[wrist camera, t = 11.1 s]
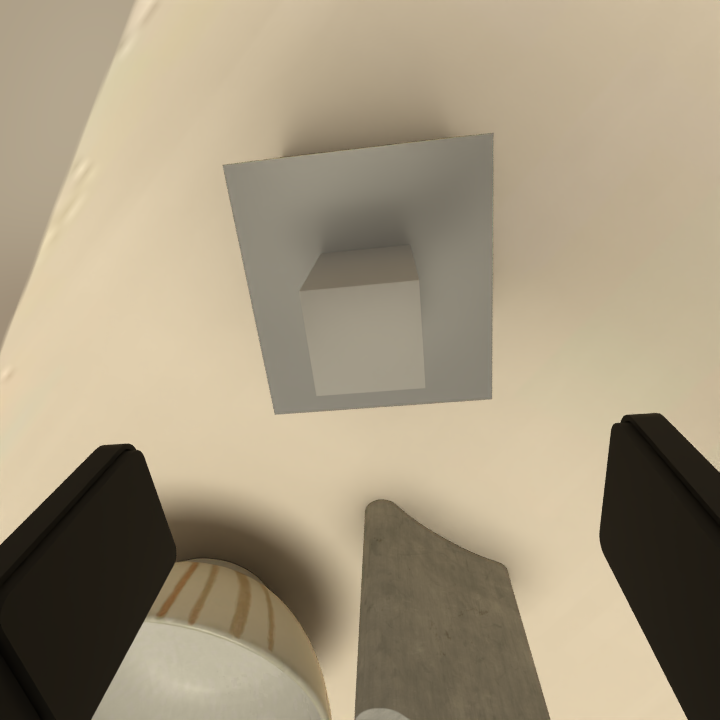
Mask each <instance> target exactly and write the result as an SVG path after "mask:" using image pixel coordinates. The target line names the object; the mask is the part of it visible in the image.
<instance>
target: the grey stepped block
mask: <svg viewBox="0 0 720 720" xmlns="http://www.w3.org/2000/svg"><path fill="white" fill-rule="evenodd" d="M223 169H224V174H225V179H226V183H227V188H228V193H229V198H230V203H231V207H232V212H233V217H234V222H235V226H236V231H237V236H238V241H239V246H240V250H241V255H242V260H243V265H244V269H245V274H246V279H247V284H248V288H249V293H250V298H251V303H252V308H253V312H254V317H255V322H256V327H257V331H258V336H259V341H260V346H261V351H262V355H263V360H264V365H265V370H266V374H267V379H268V384H269V389H270V394H271V398H272V403H273V408H274V413H275V415H276V414H290V413H304V412H318V411H332V410H346V409H360V408H374V407H388V406H402V405H416V404H431V403H445V402H459V401H473V400H487V399H492V285H493V133H488V134H478V135H468V136H459V137H449V138H441V139H432V140H424V141H416V142H407V143H399V144H390V145H382V146H373V147H365V148H357V149H348V150H340V151H331V152H323V153H314V154H306V155H298V156H289V157H281V158H273V159H265V160H258V161H250V162H242V163H235V164H227V165H223Z"/></svg>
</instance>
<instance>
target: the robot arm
mask: <svg viewBox="0 0 720 720" xmlns="http://www.w3.org/2000/svg"><path fill="white" fill-rule="evenodd" d="M599 537H600V544H601V548H602V551H603V554H604V556H605V558H606V560H607V562H608V564H609V566H610V568H611V569H612V571H613V573H614V575H615V577H616V579H617V581H618V583H619V585H620V587H621V589H622V591H623V593H624V595H625V597H626V599H627V601H628V603H629V605H630V607H631V609H632V611H633V613H634V615H635V617H636V619H637V621H638V623H639V625H640V627H641V628H642V630H643V632H644V634H645V636H646V638H647V640H648V642H649V644H650V646H651V648H652V650H653V652H654V654H655V656H656V658H657V660H658V662H659V664H660V666H661V668H662V670H663V672H664V674H665V676H666V678H667V680H668V682H669V684H670V686H671V687H672V689H673V691H674V693H675V695H676V697H677V699H678V701H679V703H680V705H681V707H682V709H683V711H684V713H685V715H686V717H687V719H688V720H720V473H719V472H718V471H717V470H716V469H715V468H714V467H713V466H712V464H711V463H710V462H709V461H708V460H707V459H706V458H705V457H704V456H703V455H702V454H701V453H700V452H699V451H698V450H697V449H696V448H695V447H694V446H693V445H692V444H691V443H690V442H689V441H688V440H687V439H686V438H685V437H684V436H683V435H682V434H681V433H680V432H679V431H678V430H677V429H676V428H675V427H674V426H673V425H672V424H671V423H670V422H669V421H668V420H667V419H666V418H665V417H664V416H662V415H661V414H659V413H650V414H633V415H625V416H623V418H622V420H621V423H615V424H613V426H612V429H611V436H610V445H609V453H608V462H607V471H606V480H605V488H604V497H603V506H602V515H601V524H600V533H599ZM175 560H176V546H175V543H174V540H173V538H172V535H171V532H170V529H169V526H168V523H167V520H166V518H165V515H164V512H163V509H162V506H161V503H160V500H159V498H158V495H157V492H156V489H155V486H154V483H153V480H152V478H151V475H150V472H149V469H148V466H147V463H146V461H145V458H144V455H143V453H142V452H141V451H139V450H136V449H135V447H134V446H133V445H131V444H115V445H103V446H100V447H98V448H97V449H96V450H95V451H94V452H93V453H92V454H91V455H90V456H89V457H88V458H87V459H86V460H85V461H84V462H83V463H82V464H81V465H80V466H79V467H78V468H77V469H76V470H75V471H74V472H73V473H72V474H71V475H70V476H69V477H68V478H67V479H66V480H65V481H64V482H63V483H62V484H61V485H60V486H59V487H58V488H57V489H56V490H55V491H54V492H53V493H52V494H51V495H50V496H49V497H48V498H47V499H46V500H45V501H44V502H43V503H42V504H41V505H40V506H39V507H38V508H37V509H36V510H35V511H34V512H33V513H32V514H31V515H30V516H29V517H28V518H27V519H26V520H25V521H24V522H23V523H22V524H21V525H20V526H19V527H18V528H17V529H16V530H15V531H14V532H13V533H12V534H11V535H10V536H9V537H8V538H7V539H6V540H5V541H4V542H3V543H2V544H1V545H0V720H91V719H92V717H93V716H94V714H95V712H96V710H97V708H98V706H99V704H100V703H101V701H102V699H103V697H104V695H105V693H106V691H107V689H108V688H109V686H110V684H111V682H112V680H113V678H114V676H115V674H116V673H117V671H118V669H119V667H120V665H121V663H122V661H123V660H124V658H125V656H126V654H127V652H128V650H129V648H130V646H131V645H132V643H133V641H134V639H135V637H136V635H137V633H138V632H139V630H140V628H141V626H142V624H143V622H144V620H145V618H146V617H147V615H148V613H149V611H150V609H151V607H152V605H153V603H154V602H155V600H156V598H157V596H158V594H159V592H160V590H161V589H162V587H163V585H164V583H165V581H166V579H167V577H168V575H169V574H170V572H171V570H172V568H173V566H174V564H175Z"/></svg>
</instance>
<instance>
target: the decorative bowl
mask: <svg viewBox="0 0 720 720" xmlns="http://www.w3.org/2000/svg"><path fill="white" fill-rule="evenodd" d="M91 720H332V718H331V710H330V705H329V700H328V695H327V690H326V686H325V682H324V678H323V674H322V671H321V668H320V665H319V662H318V660H317V657H316V654H315V652H314V650H313V647H312V645H311V643H310V641H309V639H308V637H307V635H306V633H305V632H304V630H303V628H302V627H301V625H300V623H299V622H298V620H297V619H296V618H295V616H294V615H293V613H292V612H291V611H290V610H289V608H288V607H287V606H286V605H285V604H284V603H283V602H282V601H281V600H280V599H279V598H278V597H277V596H276V595H275V594H274V593H273V592H271V591H270V590H269V589H268V588H267V587H266V586H265V585H264V583H263V582H262V581H261V580H260V579H259V578H258V577H257V576H255V575H254V574H253V573H251V572H250V571H248V570H246V569H244V568H242V567H240V566H238V565H236V564H233V563H230V562H227V561H223V560H218V559H209V558H199V559H191V560H186V561H183V562H175V564H174V566H173V568H172V570H171V572H170V574H169V575H168V577H167V579H166V581H165V583H164V585H163V587H162V589H161V590H160V592H159V594H158V596H157V598H156V600H155V602H154V603H153V605H152V607H151V609H150V611H149V613H148V615H147V617H146V618H145V620H144V622H143V624H142V626H141V628H140V630H139V632H138V633H137V635H136V637H135V639H134V641H133V643H132V645H131V646H130V648H129V650H128V652H127V654H126V656H125V658H124V660H123V661H122V663H121V665H120V667H119V669H118V671H117V673H116V674H115V676H114V678H113V680H112V682H111V684H110V686H109V688H108V689H107V691H106V693H105V695H104V697H103V699H102V701H101V703H100V704H99V706H98V708H97V710H96V712H95V714H94V716H93V717H92V719H91Z"/></svg>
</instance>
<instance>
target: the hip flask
mask: <svg viewBox="0 0 720 720" xmlns="http://www.w3.org/2000/svg"><path fill="white" fill-rule="evenodd" d="M355 720H550V717H549V713H548V710H547V706H546V703H545V699H544V696H543V692H542V689H541V685H540V682H539V679H538V675H537V672H536V668H535V665H534V661H533V658H532V654H531V651H530V647H529V644H528V640H527V637H526V634H525V630H524V627H523V623H522V620H521V616H520V613H519V609H518V606H517V602H516V599H515V595H514V592H513V589H512V585H511V582H510V578H509V575H508V571H507V569H506V567H505V566H504V565H502V564H501V563H498V562H495V561H492V560H489V559H487V558H484V557H481V556H479V555H477V554H474V553H472V552H470V551H468V550H465V549H463V548H461V547H459V546H457V545H455V544H453V543H451V542H450V541H448V540H446V539H444V538H442V537H441V536H439V535H437V534H435V533H434V532H432V531H431V530H429V529H427V528H426V527H424V526H423V525H421V524H420V523H418V522H417V521H416V520H414V519H413V518H411V517H410V516H409V515H407V514H406V513H405V512H404V511H402V510H401V509H400V508H399V507H398V506H397V505H395V504H394V503H393V502H391V501H388V500H377V501H374V502H372V503H370V504H369V505H368V506H367V508H366V510H365V525H364V544H363V564H362V583H361V603H360V622H359V642H358V661H357V681H356V700H355Z"/></svg>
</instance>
